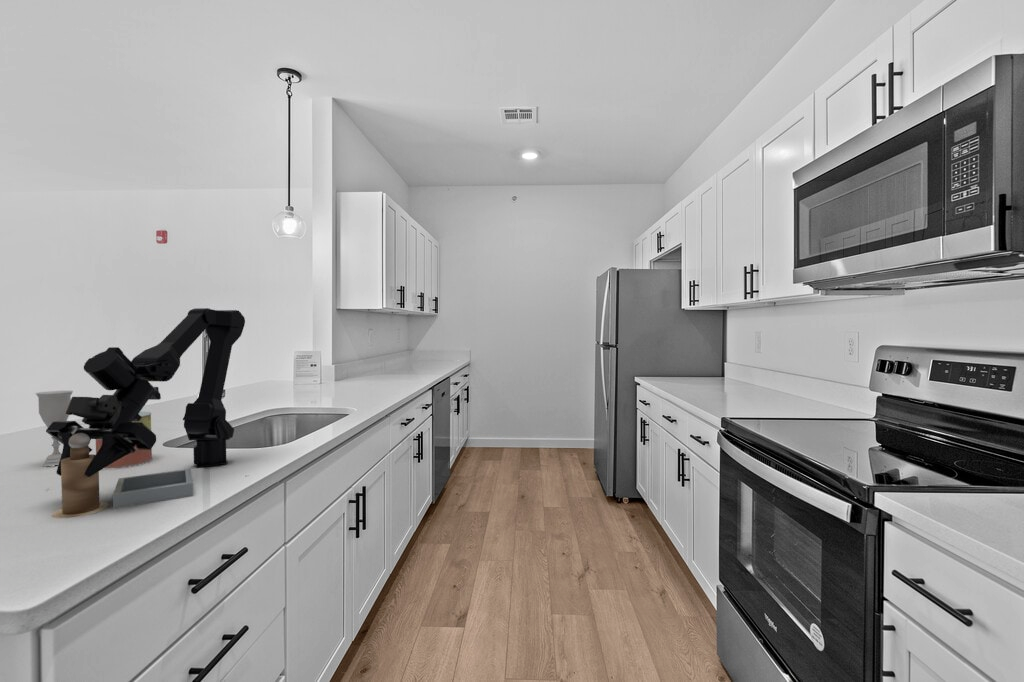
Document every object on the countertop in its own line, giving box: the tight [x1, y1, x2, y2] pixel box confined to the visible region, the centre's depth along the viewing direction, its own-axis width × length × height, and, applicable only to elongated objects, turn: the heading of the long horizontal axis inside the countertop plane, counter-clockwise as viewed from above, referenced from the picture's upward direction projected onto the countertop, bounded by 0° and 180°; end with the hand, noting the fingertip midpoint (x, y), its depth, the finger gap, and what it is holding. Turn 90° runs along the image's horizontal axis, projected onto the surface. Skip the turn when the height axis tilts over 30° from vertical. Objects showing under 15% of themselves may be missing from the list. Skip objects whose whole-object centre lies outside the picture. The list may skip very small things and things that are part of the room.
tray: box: [112, 468, 194, 510], centre depth 101 cm, size 12×12×3 cm
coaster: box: [51, 501, 110, 519], centre depth 92 cm, size 8×8×1 cm
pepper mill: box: [60, 433, 101, 515], centre depth 92 cm, size 5×5×14 cm
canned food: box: [95, 411, 153, 469], centre depth 126 cm, size 11×11×12 cm
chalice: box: [35, 390, 74, 467], centre depth 125 cm, size 7×7×18 cm
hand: (72, 475), depth 90 cm, fingers open, 5 cm apart
